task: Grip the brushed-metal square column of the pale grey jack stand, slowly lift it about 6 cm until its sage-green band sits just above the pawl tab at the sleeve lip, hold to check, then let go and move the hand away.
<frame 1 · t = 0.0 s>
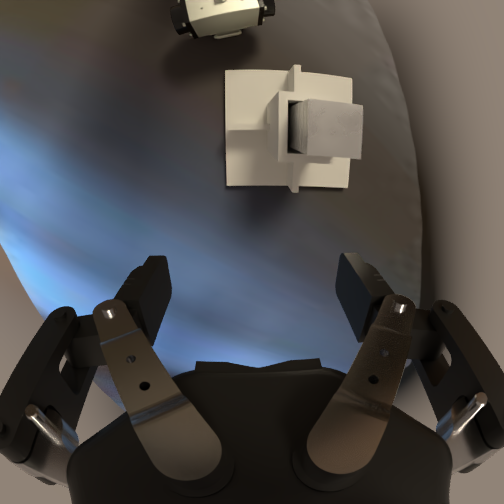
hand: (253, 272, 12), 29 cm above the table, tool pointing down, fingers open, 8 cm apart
stand base: (289, 127, 36), on the table
pneumatic valve: (226, 26, 29), on the table
column: (306, 127, 25), point 12 cm above the table, slide at 0.0 cm
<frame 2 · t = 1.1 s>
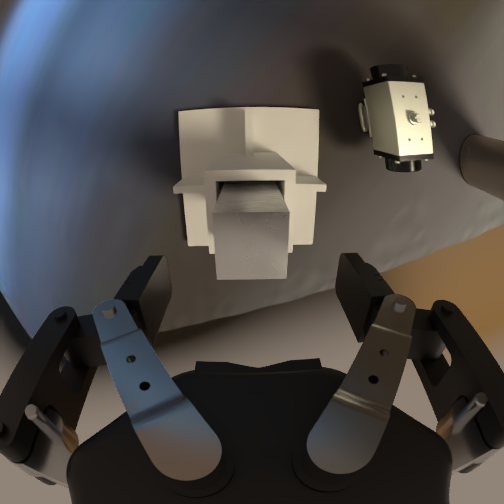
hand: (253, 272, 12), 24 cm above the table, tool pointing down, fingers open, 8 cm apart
stand base: (249, 176, 34), on the table
pneumatic valve: (371, 117, 30), on the table
column: (250, 200, 24), point 12 cm above the table, slide at 0.0 cm
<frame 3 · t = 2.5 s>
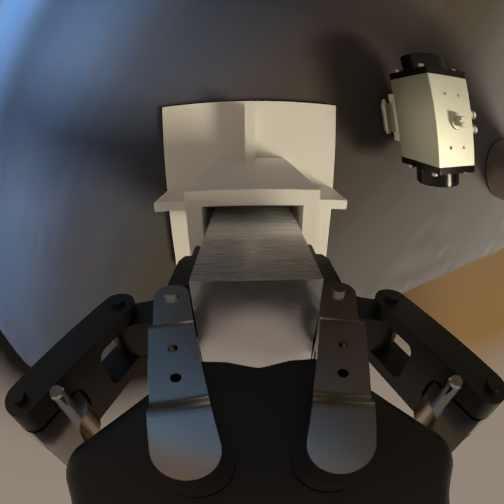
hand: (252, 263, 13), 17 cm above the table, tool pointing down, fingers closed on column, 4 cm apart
stand base: (249, 186, 28), on the table
pneumatic valve: (395, 116, 24), on the table
column: (251, 226, 18), point 12 cm above the table, slide at 0.0 cm, touching gripper
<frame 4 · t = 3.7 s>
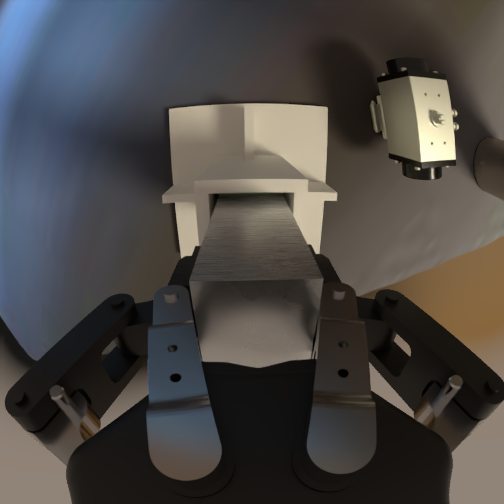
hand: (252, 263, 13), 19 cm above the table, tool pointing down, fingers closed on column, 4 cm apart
stand base: (249, 182, 30), on the table
pneumatic valve: (384, 116, 27), on the table
column: (251, 226, 18), point 14 cm above the table, slide at 2.6 cm, touching gripper
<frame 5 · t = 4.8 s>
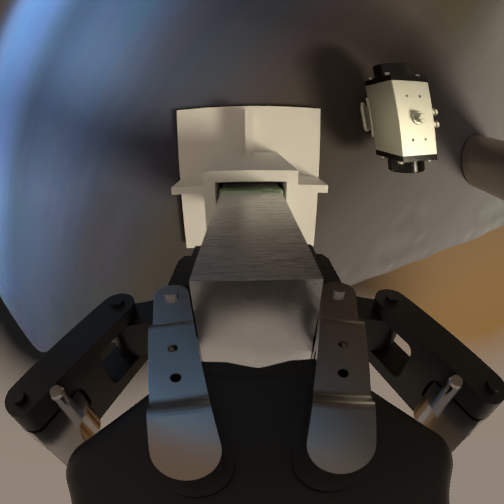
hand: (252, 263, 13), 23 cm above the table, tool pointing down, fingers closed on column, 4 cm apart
stand base: (249, 177, 33), on the table
pneumatic valve: (373, 116, 30), on the table
column: (251, 226, 18), point 18 cm above the table, slide at 5.9 cm, touching gripper
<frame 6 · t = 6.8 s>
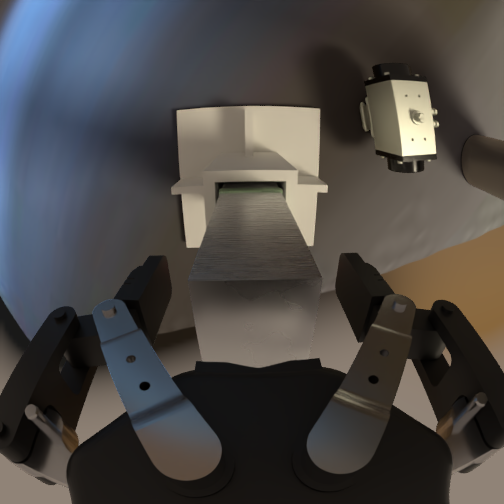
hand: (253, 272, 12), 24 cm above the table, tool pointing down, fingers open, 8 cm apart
stand base: (249, 176, 33), on the table
pneumatic valve: (373, 116, 30), on the table
column: (251, 226, 18), point 18 cm above the table, slide at 6.0 cm
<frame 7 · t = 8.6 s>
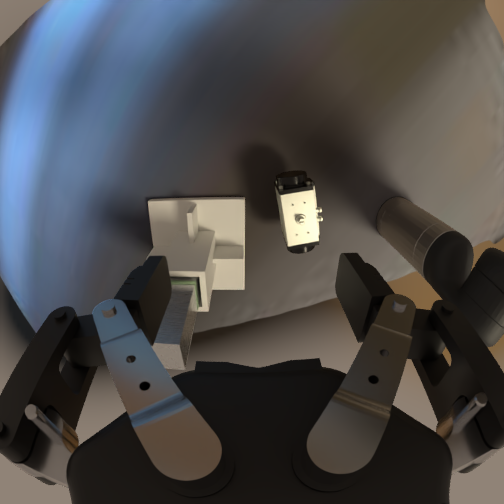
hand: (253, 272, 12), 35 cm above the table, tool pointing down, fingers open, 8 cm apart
stand base: (198, 244, 50), on the table
pneumatic valve: (290, 197, 47), on the table
column: (180, 301, 34), point 18 cm above the table, slide at 6.0 cm
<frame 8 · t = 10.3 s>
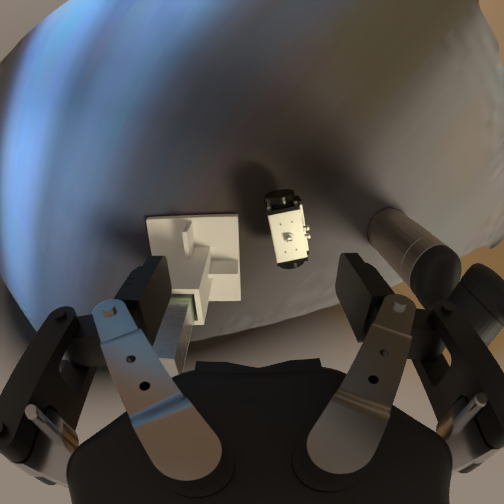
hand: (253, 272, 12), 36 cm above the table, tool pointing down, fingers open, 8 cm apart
stand base: (196, 258, 52), on the table
pneumatic valve: (282, 212, 49), on the table
column: (176, 317, 37), point 18 cm above the table, slide at 6.0 cm
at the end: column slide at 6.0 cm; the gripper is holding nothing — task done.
